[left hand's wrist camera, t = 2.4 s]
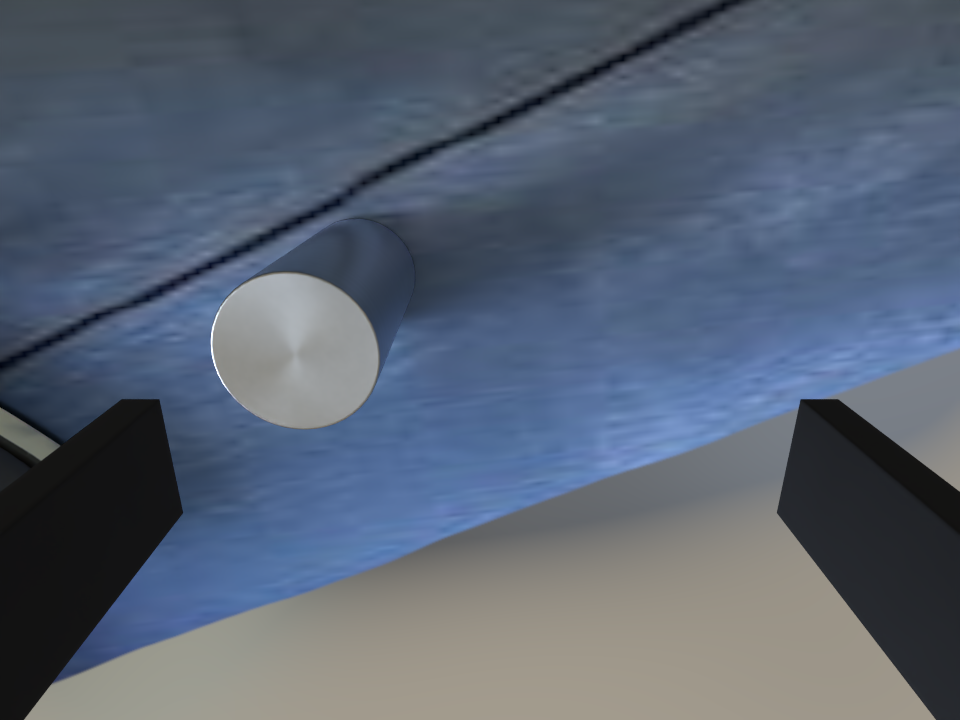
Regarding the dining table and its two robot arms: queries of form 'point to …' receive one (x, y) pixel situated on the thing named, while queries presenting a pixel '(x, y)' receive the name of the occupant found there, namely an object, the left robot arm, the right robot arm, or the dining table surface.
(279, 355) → the tin
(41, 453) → the boat shoe
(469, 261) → the dining table surface
